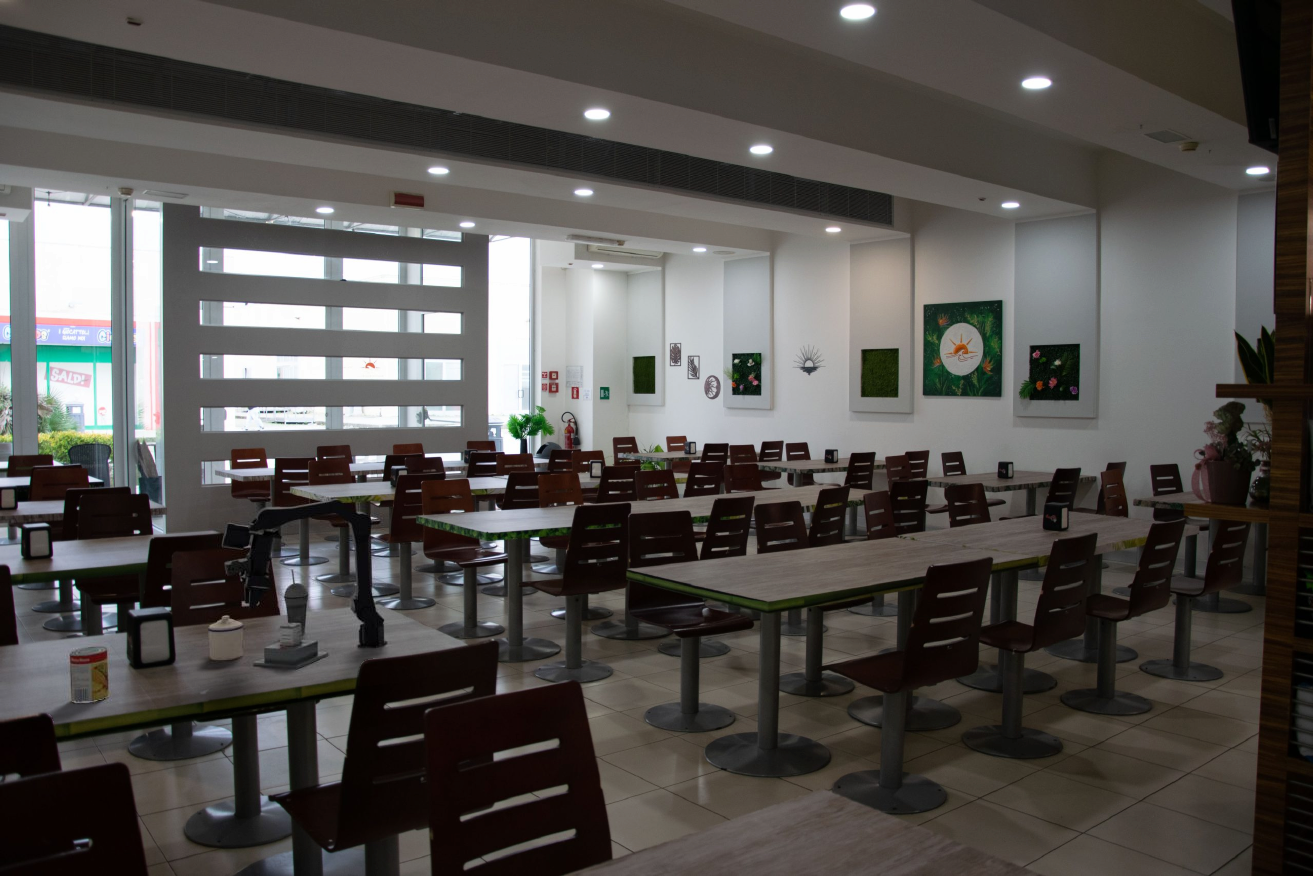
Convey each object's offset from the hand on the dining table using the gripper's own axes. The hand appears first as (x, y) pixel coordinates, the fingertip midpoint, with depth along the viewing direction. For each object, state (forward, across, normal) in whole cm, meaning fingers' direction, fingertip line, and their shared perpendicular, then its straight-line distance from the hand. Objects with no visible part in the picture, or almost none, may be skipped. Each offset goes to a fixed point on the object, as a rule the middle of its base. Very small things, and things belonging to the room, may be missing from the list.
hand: (249, 606), depth 264 cm
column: (+12, +7, +13) cm, 19 cm away
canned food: (+23, +18, -34) cm, 45 cm away
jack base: (+12, +7, +13) cm, 19 cm away
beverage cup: (+12, -26, +20) cm, 35 cm away
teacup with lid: (+16, -8, -3) cm, 18 cm away
